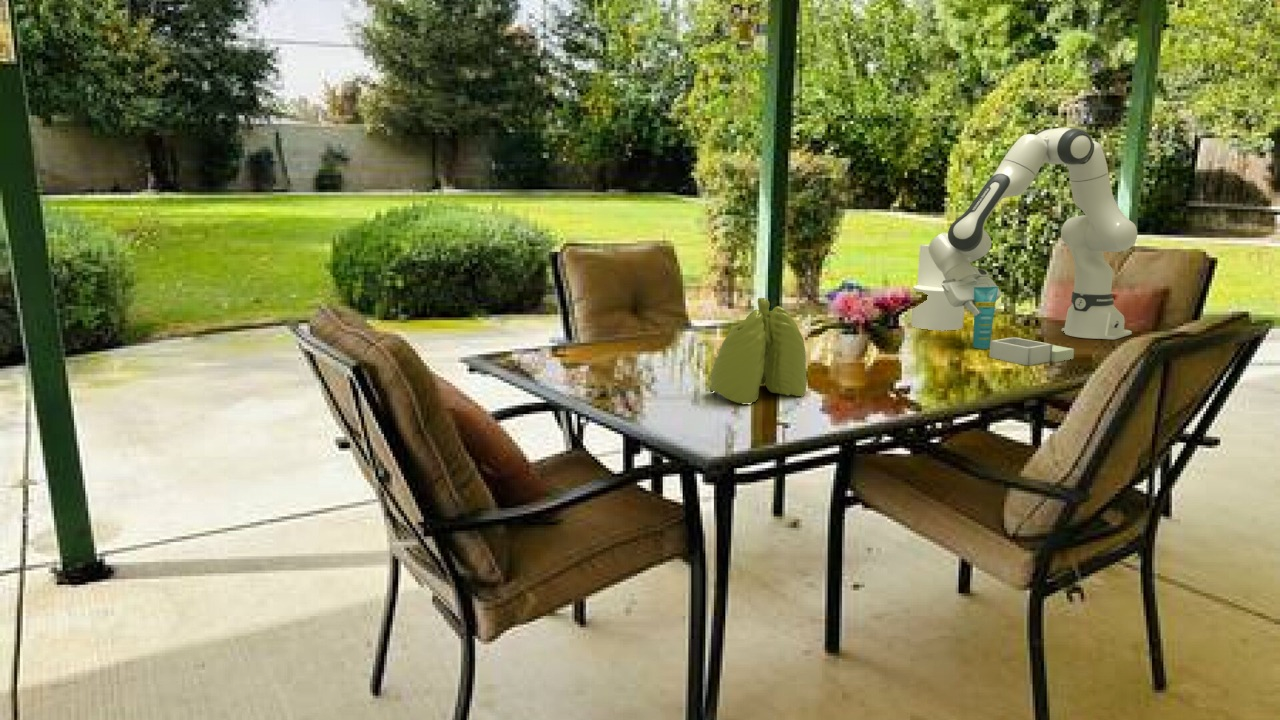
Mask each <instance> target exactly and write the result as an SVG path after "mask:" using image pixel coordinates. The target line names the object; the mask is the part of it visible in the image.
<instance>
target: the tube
mask: <svg viewBox="0 0 1280 720" xmlns="http://www.w3.org/2000/svg"><path fill="white" fill-rule="evenodd" d="M998 289H999V286H998V285H996V286H993V287H974V298H975V300H974V306H975V307H976V308H979V309H980V311H981V314H980V315H978V316H974V315H973V333H972V334H973V337H972V338H973V341H972V348H974V349H978V350H989V349H990V342H991V341H992V332H993V331H992V330H993V324H994V315H995V313H994V310H995V309H996V302H997V300H996V297H997V292H998ZM988 348H989V349H988Z"/></svg>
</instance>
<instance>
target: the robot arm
mask: <svg viewBox="0 0 1280 720" xmlns="http://www.w3.org/2000/svg"><path fill="white" fill-rule="evenodd" d="M1044 164H1050V165H1066V167H1067V169H1068V174H1069V175H1068V176H1069V182H1070V189H1071V193H1072V199H1073V203H1074V204H1075V206H1076V207H1077V208H1078V209H1080V210H1081V211H1082V212H1083V213H1084V214H1085V215H1084V214H1083V215H1076V216H1072V217H1070V218H1068V219H1066V221H1064V223H1063V224H1062V227H1061V230H1060V233H1061V236H1060V237H1061V239H1062V241H1063V243H1065V245H1066V246H1067V247H1068V249H1069V250H1070V253H1071V256H1072V259H1073V263H1074V283H1073V291H1072V293H1071V297H1070V302H1071V305H1070V306H1069V307H1068V308H1067V313H1066V317H1065V324H1064V327H1062V328H1061V332H1063V331H1064V332H1063V333H1065V334H1064V335H1066V336H1070V337H1074V338H1082V339H1093V340H1094V339H1097V340H1100V339H1102V340H1118V339H1121V338H1124V337H1127V336H1130V335H1132V334H1133V333H1132V330H1129V329H1125V323H1126V322H1125V316H1124V315H1123V313H1121V312H1120V310H1119V309H1117V308H1116V306H1115V305H1114V301H1118V300H1119V296H1120V295H1119V294H1118V293H1112V289H1113V287H1112V286H1113V278H1114V269H1113V268H1112V266H1111V265H1110V264H1109V263H1108V262H1107V261H1106V259H1105V256H1104V253H1103V252H1107V253H1108V252H1109V253H1114V252H1115V253H1116V252H1124V251H1127V250H1129V249H1130V248H1132V247H1133V246H1134V244H1135V243H1136V240H1137V238H1138V229H1137V226H1136V224H1135V223H1134V222H1133V221H1131V220H1130V219H1129V218H1127V216H1126V215H1125V214H1124V213H1123V211H1122V210H1121V209H1120V207H1119V206H1118V204H1117V202H1116V199H1115V197H1114V193H1113V191H1112V190H1113V189H1112V185H1111V180H1110V175H1109V167H1108V162H1107V160H1106V155H1105V153H1104V151H1103V148H1102V145H1101V144H1100V142H1098V141H1096V140H1093V139H1092V137H1091V135H1090V134H1089V133H1088V132H1087V131H1084V130H1083V129H1081V128H1071V127H1058V128H1043V129H1041V130H1039V131H1037V132H1036V133H1034V134H1033V133H1027V134H1024V135H1022V136H1020V137H1019V138H1018V139H1017V140H1016V141H1015V143H1014V144H1013V145H1012V146H1011V147H1010V149H1009V150H1008V151H1007V152H1006V153H1005V156H1004V158H1003V159H1002V161H1001V162H1000V163H999V165H998V167H997V169H996V170H995V171H994V173H993V175H992V176H991V177H990V179H989V180H988V181H987V182H986V183H985V184H984V186H983V187H982V189H981V190H980V191H979V193H978V195H977V196H976V197H975V198H974V200H973V201H972V203H971V204H970V205H969V207H968V208H967V209H966V211H965V212H964V213H963V214H961V216H960V217H958V218H957V219H955V220H954V221H953V222H952V223H951V225H950V227H949V228H948V231H947V232H941V233H939V234H937V235H936V236H934V237H933V238H932V239H931V240H930V243H929V244H928V245H929V253H930V256H931V258H932V260H933V261H934V263H935V265H936V266H937V268H938V269H939V270H940V271H941V272H942V273H943V275H944V278H945V280H944V281H943V282H942V287H943V289H944V293H945V295H946V297H947V299H948V301H949V303H950V304H951V305H952V306H953V307H959V306H964V308H965V309H967V310H968V311H969V312H971V313H972V315H973V317H974V316H978V315H980V314H981V311H980V309H979V308H976V307H975V306H974V300H975V298H974V287H993V286H997V284H996V283H995V281H994V280H993V279H992V278H991V277H989V274H990V273H989V272H988V271H987V270H986V269H984V268H983V269H982V268H980V267H976V266H974V265H972V264H971V263H974V262H975V261H978V260H979V259H982V258H983V257H986V255H988V254H989V252H990V251H991V249H992V245H993V244H992V238H991V236H990V234H988V232H987V231H986V230H985V229H984V228H985V223H986V221H987V220H988V218H989V217H990V216H991V214H992V213H993V211H994V209H995V208H996V206H997V205H998V203H1000V202H1001V201H1002V200H1003V199H1005V198H1012V197H1018V196H1021V195H1023V193H1025V191H1026V190H1027V189H1028V188H1029V187H1030V186H1031V184H1032V183H1033V181H1034V180H1035V178H1036V176H1037V175H1038V173H1039V171H1040V169H1041V168H1042V166H1043V165H1044ZM1001 297H1002V293H1001V290H1000V289H999V288H998V292H997V297H996V301H998V300H999V299H1000V298H1001ZM996 312H997V308H995V310H994V314H995V313H996Z"/></svg>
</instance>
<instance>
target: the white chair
mask: <svg viewBox="0 0 1280 720" xmlns="http://www.w3.org/2000/svg"><path fill="white" fill-rule="evenodd" d="M917 269H918V271H917V272H918V273H917V285H913V286H912V287H913V288H912V291H913V290H914V291H918V292H923V293H925V294H927V295H928V296H927V300H926V301H924V302H923V303H921V304H920V305H918V306H917V307H915V308H913V309H912V308H911V317H910V318H911V319H910V321H911V322H910V326H911V325H912V326H914V327H917V328H921V329H928V330H941V331H940V332H948V331H947V330H957V329H961V328H963V329H964V317H965V316H964V314H965V306H959V307H953V306H952V305H951V304H950V303H949V301H948V299H947V297H946V295H945V293H944V289H943V287H942V282H943V281H944V280H945V278H944V275H943V273H942V272H941V271H940V270H939V269H938V268H937V266H936V265H935V263H934V261H933V260H932V258H931V256H930V253H929V244H919V251H918V267H917ZM944 330H946V331H944ZM961 330H962V329H961ZM957 331H958V330H957Z"/></svg>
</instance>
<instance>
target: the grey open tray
mask: <svg viewBox="0 0 1280 720" xmlns="http://www.w3.org/2000/svg"><path fill="white" fill-rule="evenodd" d="M1074 352H1075V348H1071V347H1067V346H1066V347H1065V346H1060V345H1055V344H1053V343H1047V342H1041V341H1036V340H1031V339H1026V338H1020V337H1015V336H1012V337H1007V338H1006V337H1005V338H1001V339H994V340H993V339H992V340H990V348H989V355H988V357H989V358H990V357H991V358H990V359H994V358H995V360H999V359H1000V360H999V361H1004V360H1005V362H1008V361H1009V363H1012V364H1013V363H1014V364H1018V365H1023V366H1032V365H1037V364H1043V363H1045V364H1046V363H1048V362H1054V363H1059V362H1063V361H1064V360H1065V361H1070V359H1071V360H1074V356H1075V355H1074Z"/></svg>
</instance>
